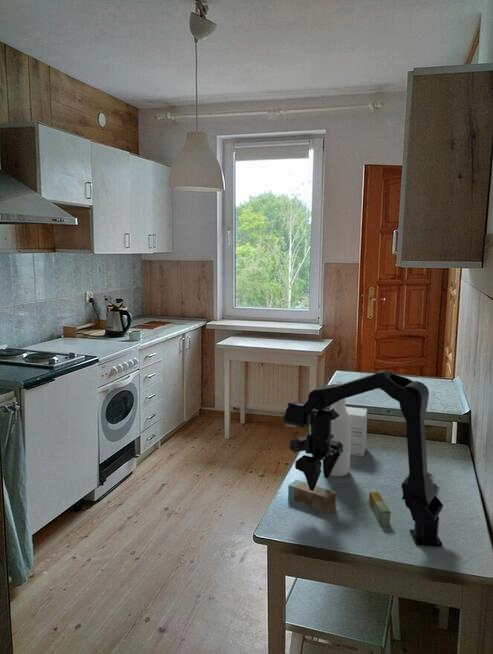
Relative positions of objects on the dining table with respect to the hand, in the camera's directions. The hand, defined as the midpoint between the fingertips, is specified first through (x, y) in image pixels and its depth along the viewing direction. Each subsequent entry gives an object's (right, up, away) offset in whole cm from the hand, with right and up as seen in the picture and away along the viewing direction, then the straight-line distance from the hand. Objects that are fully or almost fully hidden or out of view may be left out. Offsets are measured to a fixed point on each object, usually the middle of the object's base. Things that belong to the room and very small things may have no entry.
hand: (319, 484), depth 144 cm
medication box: (+16, -8, -3) cm, 18 cm away
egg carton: (+33, -5, +14) cm, 36 cm away
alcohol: (+9, -3, +23) cm, 25 cm away
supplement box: (+18, -1, +40) cm, 44 cm away
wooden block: (+3, -5, -2) cm, 6 cm away
